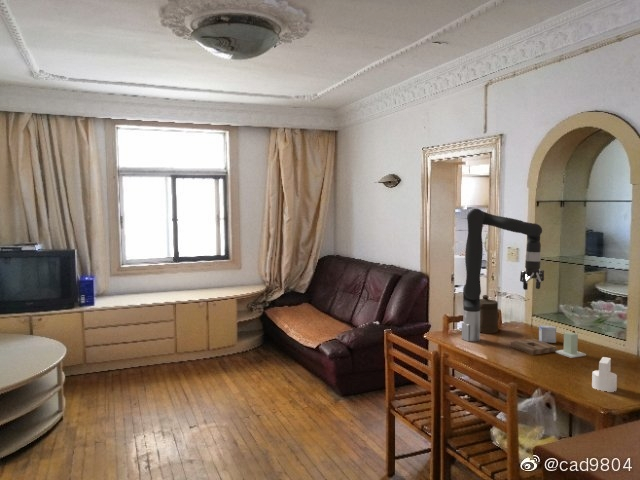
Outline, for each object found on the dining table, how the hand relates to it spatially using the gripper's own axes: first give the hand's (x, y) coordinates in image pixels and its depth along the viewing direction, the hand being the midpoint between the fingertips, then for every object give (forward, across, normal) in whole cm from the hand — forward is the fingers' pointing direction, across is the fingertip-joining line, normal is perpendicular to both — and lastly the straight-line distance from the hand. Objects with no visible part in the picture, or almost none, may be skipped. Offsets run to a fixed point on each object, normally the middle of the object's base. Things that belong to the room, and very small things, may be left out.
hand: (531, 289), depth 263 cm
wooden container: (+32, +4, -32) cm, 45 cm away
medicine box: (+31, -12, +1) cm, 33 cm away
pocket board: (+31, +5, +8) cm, 32 cm away
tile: (+30, -6, +22) cm, 38 cm away
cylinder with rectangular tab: (+30, +17, +61) cm, 71 cm away
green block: (+29, -6, +22) cm, 37 cm away
